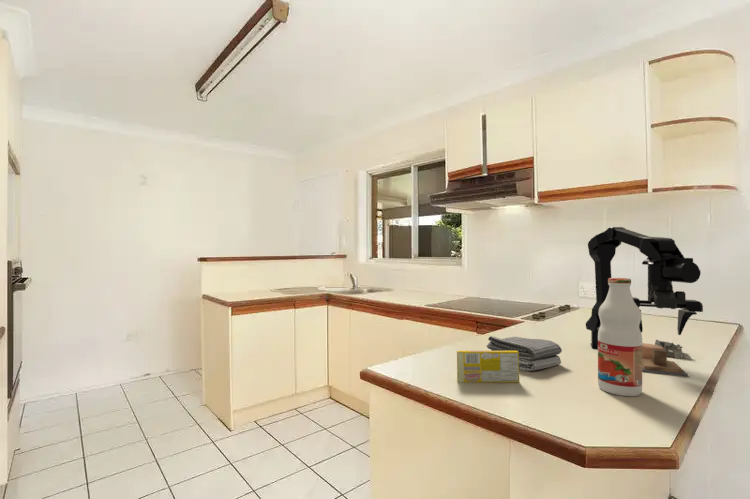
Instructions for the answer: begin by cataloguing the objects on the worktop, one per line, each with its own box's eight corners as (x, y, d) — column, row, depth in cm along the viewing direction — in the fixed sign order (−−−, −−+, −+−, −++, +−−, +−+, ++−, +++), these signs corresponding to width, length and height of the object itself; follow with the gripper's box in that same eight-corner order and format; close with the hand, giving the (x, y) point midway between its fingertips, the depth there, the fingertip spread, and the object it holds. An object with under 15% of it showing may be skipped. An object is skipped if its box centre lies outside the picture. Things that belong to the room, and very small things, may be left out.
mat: (640, 371, 111) (640, 369, 111) (633, 362, 121) (633, 360, 121) (688, 376, 107) (688, 374, 107) (677, 366, 116) (677, 364, 116)
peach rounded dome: (635, 360, 123) (635, 347, 123) (630, 354, 130) (630, 342, 130) (666, 363, 120) (666, 350, 120) (659, 356, 127) (659, 344, 127)
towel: (535, 375, 109) (535, 347, 109) (482, 360, 124) (482, 335, 124) (563, 366, 118) (563, 340, 118) (511, 353, 133) (511, 330, 133)
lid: (644, 369, 112) (644, 351, 112) (637, 361, 120) (637, 345, 120) (682, 373, 108) (682, 355, 108) (673, 364, 116) (673, 348, 116)
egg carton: (682, 359, 125) (682, 347, 125) (654, 355, 129) (654, 343, 129) (682, 352, 133) (682, 340, 133) (655, 349, 138) (655, 337, 138)
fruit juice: (652, 396, 92) (652, 279, 92) (615, 398, 91) (615, 279, 92) (623, 383, 102) (623, 277, 102) (589, 384, 101) (589, 277, 101)
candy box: (517, 380, 104) (516, 350, 104) (519, 383, 102) (519, 352, 102) (456, 380, 104) (456, 349, 104) (458, 382, 102) (458, 351, 102)
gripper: (627, 281, 110) (627, 336, 110) (710, 283, 102) (710, 342, 102) (620, 278, 120) (621, 329, 120) (695, 280, 113) (696, 334, 113)
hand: (659, 333), depth 114 cm, fingers open, 9 cm apart
